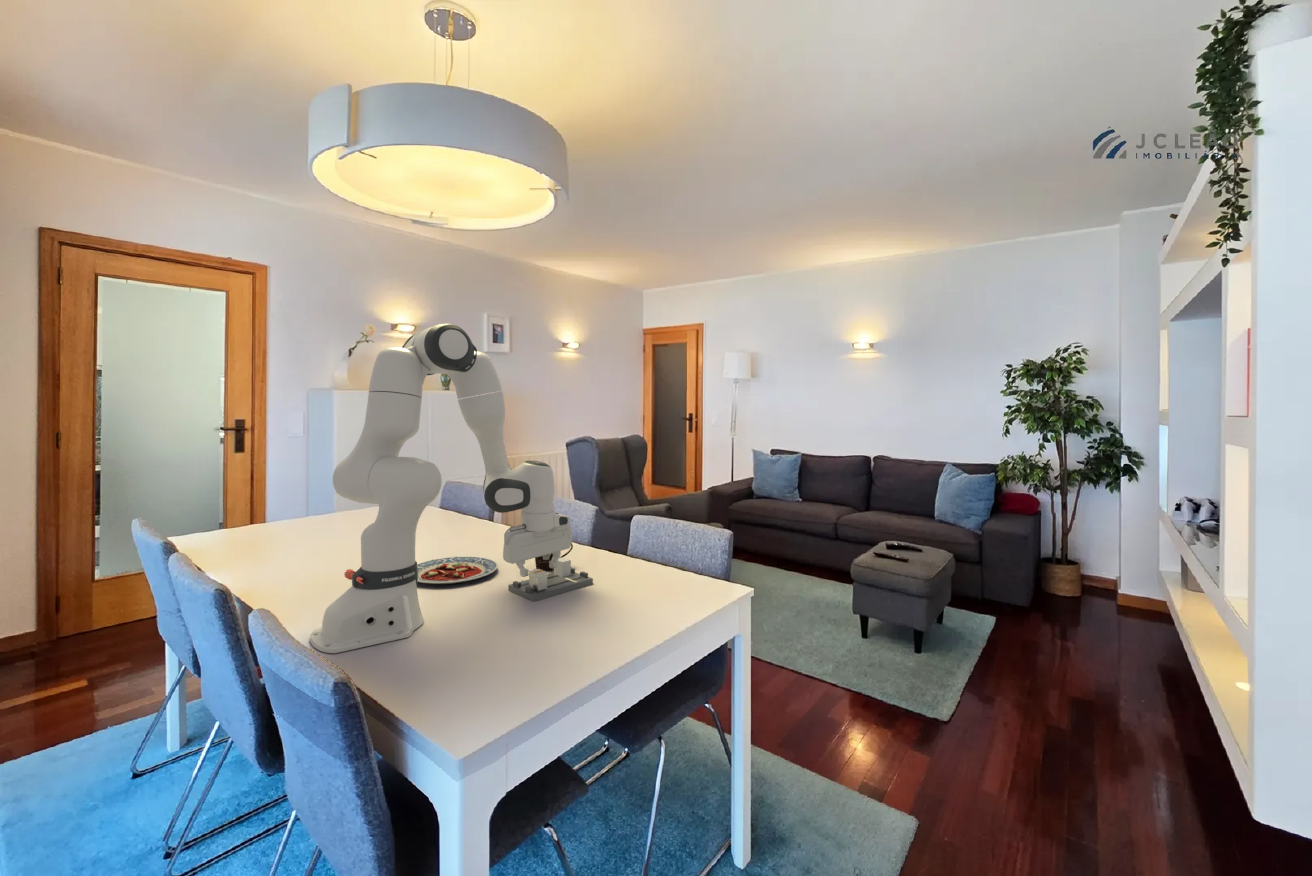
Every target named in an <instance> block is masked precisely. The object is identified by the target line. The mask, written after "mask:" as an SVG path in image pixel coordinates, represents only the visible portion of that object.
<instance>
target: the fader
mask: <svg viewBox="0 0 1312 876" xmlns="http://www.w3.org/2000/svg"><path fill="white" fill-rule="evenodd" d="M528 574H529V575H528V580H529V586H530V587H532V588H534V590H537V591H539V590H543V589H546V588H547V575H548V572H546V571H543V570H540V569H536V568H535V569H531V570H529V572H528Z"/></svg>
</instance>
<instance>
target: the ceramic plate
mask: <svg viewBox="0 0 1312 876" xmlns="http://www.w3.org/2000/svg"><path fill="white" fill-rule="evenodd" d="M498 565H499V564H498V563H497V562H496V561H494V560H493V559H489V558H486V557H481V556H480V557H479V556H451V557H450V556H449V557H443V558H436V559H431V560H427V561H424V562H421V563H417V568H418V583H423V584H433V585H451V584H453V585H454V584H460V583H465V582H470V581H472V580H477V579H480V578H484V577H486V576H488V575H490V574H492V573H494V572H495V571H496V570H497V569H498Z"/></svg>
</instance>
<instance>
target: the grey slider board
mask: <svg viewBox="0 0 1312 876" xmlns="http://www.w3.org/2000/svg"><path fill="white" fill-rule="evenodd" d="M571 561H572V560H571V559H570V558H569V559H568V558H565V557H562V558H559V559H558V561H557V567H556V568H554V571H553V572H552V573H547V588H546V589H543V590H539V591H537V590H534V588H532V587H530V586H529V579H525V580H521V581H518V580H515V581H512V583H511V584H508V585H507V586H508V589H507V590H508V591H509V592H511V593H513V594H516V595H518V596H520V597H522V598H524V599H527V600H529V601H532V602H536V601H539V600H540V601H541V600H544V599H547V598H550V597H554V596H557V595H561V594H564V593H567V592H570V591H571V592H572V591H573V590H577V589H582V588H583V587H584V588H585V587H587V586H592V585H593V584H594V579H593V578H592V577H590V576H589V572H586V571H583V570H582V571H579V573H578V572H576V569H575V568H574V567H572V566H571V564H572V563H571Z"/></svg>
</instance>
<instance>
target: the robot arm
mask: <svg viewBox="0 0 1312 876" xmlns="http://www.w3.org/2000/svg"><path fill="white" fill-rule="evenodd" d="M435 374H446V375H447V376H448V377H449V379H450V380H451V382H452V384H453V385H454V388H455V393H456V397H457V402H458V406H459V408H460V413H461V414H462V417H463V418H464V421H465V423H466V426H468V428H469V429H470V431H471V432H472V433H473V434H474V436H475V437H476V440H477V441H478V444H479V448H480V452H481V455H482V456H481V457H482V459H483V463H484V464H483V465H484V469H485V476H484V481H483V486H482V488H483V490H482V491H483V497H484V503H485V504H486V505H487V507H488V508H489V509H491V510H492V511H494V512H495V513H496V512H497V513H501V514H503V513H504V514H506V513H510V512H514V511H518V510H520V520H521V521H520V525H519V524H518V525H516V526H511V527H509V528H508V529H507V530H506V531H505V532H504V534H503V537H504V538H503V540H504V541H503V542H504V543H503V549H502V550H503V551H502V558H503V561H504V562H506V563H508V564H511V565H513V564H515V565H516V566H517V568H518V569H519V575H520V577H522V578H525V577H529V571H530V570H529V569H528V568H525V566H524V565H525V564H526V561H528V560H533V559H535V558H536V557H540V556H543V555H547V554H551V553H552V554H553V557H552V560H551V561H549V567H550V568H556V567H557V561H558V559H559V557H561V556H562V555H561V554H562V552H561V551H565V550H568V549H569V550H570V549H571V545H573V535H572V533H573V532H572V528H571V527H572V526H571V525H570V524H571V517H570V516H569V515H565V514H561V513H558V512H556V508H555V507H556V506H555V503H554V498H555V476H554V472H553V471H554V470H553V469H552V467H551V466H550V465H549V464H548V463H546V462H543V461H539V460H525V461H523V462H522V463H521V464H519V465H518V466H516V467H515V468H513V469H512V467H511V466H510V464H509V459H508V456H507V451H506V447H505V443H504V437H503V435H504V433H503V428H504V423H505V419H506V408H505V407H506V406H505V398H504V393H503V389H502V385H501V382H500V379H499V378H500V377H499V375H498V373H497V370H496V368H495V366H494V362H493V361H492V358H491V357H490V356H489V355H488V354H486V353H484V352H482V351H479V350H478V349H477V347H476V346H475V345H474V343H473V341H472V340H471V338H470V336H469V335H468V334H467V332H466V331H465V330H464V329H463V328H461V327H460V326H458V325H455V324H452V323H439V324H436V325H433V326H429V327H426V328H423V329H422V330H419V331H418V332H416V333H415V334H412V335H411V336H410V337H409V338H408V339H407V340H406V341H405V342H404V344H403V345H402V346H401V347H400V346H392V347H387V348H384V349H382V350H381V351H380V352H379V353H378V354H377V356H376V358H375V361H374V364H373V367H372V371H371V376H370V381H369V386H368V394H367V395H368V396H367V404H366V405H367V406H366V410H365V411H366V412H365V419H364V424H363V428H362V430H361V434H360V435H359V438H358V440H357V442H356V444H355V446H354V448H353V449H352V451H351V452H350V453H349V454H348V455H347V456H346V457H345V458H344V459H343V460H341V461H340V462H339V463H338V464H337V465H336V467H335V469H334V471H333V473H332V485H333V488H334V490H335V492H336V493H337V494H338V495H339V496H340V497H342V498H345V499H347V500H350V501H353V502H356V503H361V504H370V505H371V504H372V505H378V511H377V515H376V519H375V521H374V522H373V523H371V524H369V525H368V526H367V527H366V528H365V529H364V530H363V531H362V533H361V535H360V554H361V555H360V561H361V564H360V565H361V566H360V567H359V569H356V571H355V570H354V569H351V568H350V569H346V570H345V572H344V578H346V579H347V580H350V581H351V586H350V588H348V589H347V590H346V591H344V592H343V594H341V595H340V596H339V597H338V598H336V599H335V600H333V602H332V603H330V604H329V605H328V606H327V608H326V609H325V611H324V613H323V617H322V621H321V622H322V623H321V627H320V628H316V629H314V630H313V631H312V632H311V633H310V635H309V636H310V638H309V641H310V644H311V645H312V646H313V647H314V648H315V649H316V650H318V651H320V652H322V653H326V654H339V653H342V652H347V651H348V652H349V651H351V650H355V649H361V648H364V647H365V648H366V647H369V646H374V645H378V644H383V643H387V642H388V643H389V642H392V641H396V640H397V641H398V640H402V639H406V638H410V637H411V636H412V635H413V633H414V631H415V630H417V629H418V628H420V627H421V626H422V625H423V623H424V621H425V618H424V616H423V614H422V610H421V606H420V601H419V595H418V588H417V585H418V584H419V582H418V568H417V564H418V562H417V561H416V538H417V537H416V536H417V534H416V533H417V529H418V527H417V526H418V524H419V520H420V518H421V515H422V514H423V512H424V510H425V509H426V507H427V506H429V505H430V504H431V503H432V502H434V500H436V498H437V497H438V495H439V493H440V491H441V489H442V484H443V481H442V474H441V471H440V469H439V467H438V466H437V465H436V464H435V463H433V462H431V461H427V460H425V459H421V458H418V457H414V456H413V457H412V456H399V454H400V452H401V450H402V447H404V444H405V443H407V441H408V440H409V439H411V438H413V437H414V436H415V435H417V433H418V432H419V429H420V420H421V419H420V418H421V413H422V411H421V410H422V409H421V408H422V397H423V385H424V382H425V378H426V377H427V376H433V375H435Z"/></svg>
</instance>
